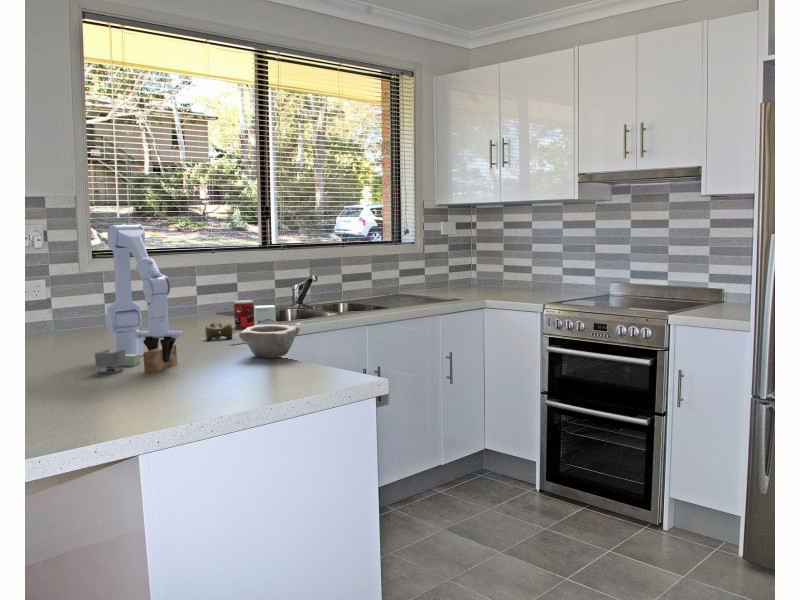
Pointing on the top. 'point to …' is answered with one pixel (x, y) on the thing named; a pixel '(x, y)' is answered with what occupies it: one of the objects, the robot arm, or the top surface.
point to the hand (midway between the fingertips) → (161, 361)
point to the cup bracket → (110, 361)
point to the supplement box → (265, 315)
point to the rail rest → (131, 360)
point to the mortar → (269, 339)
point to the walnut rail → (158, 360)
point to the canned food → (244, 313)
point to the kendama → (218, 331)
